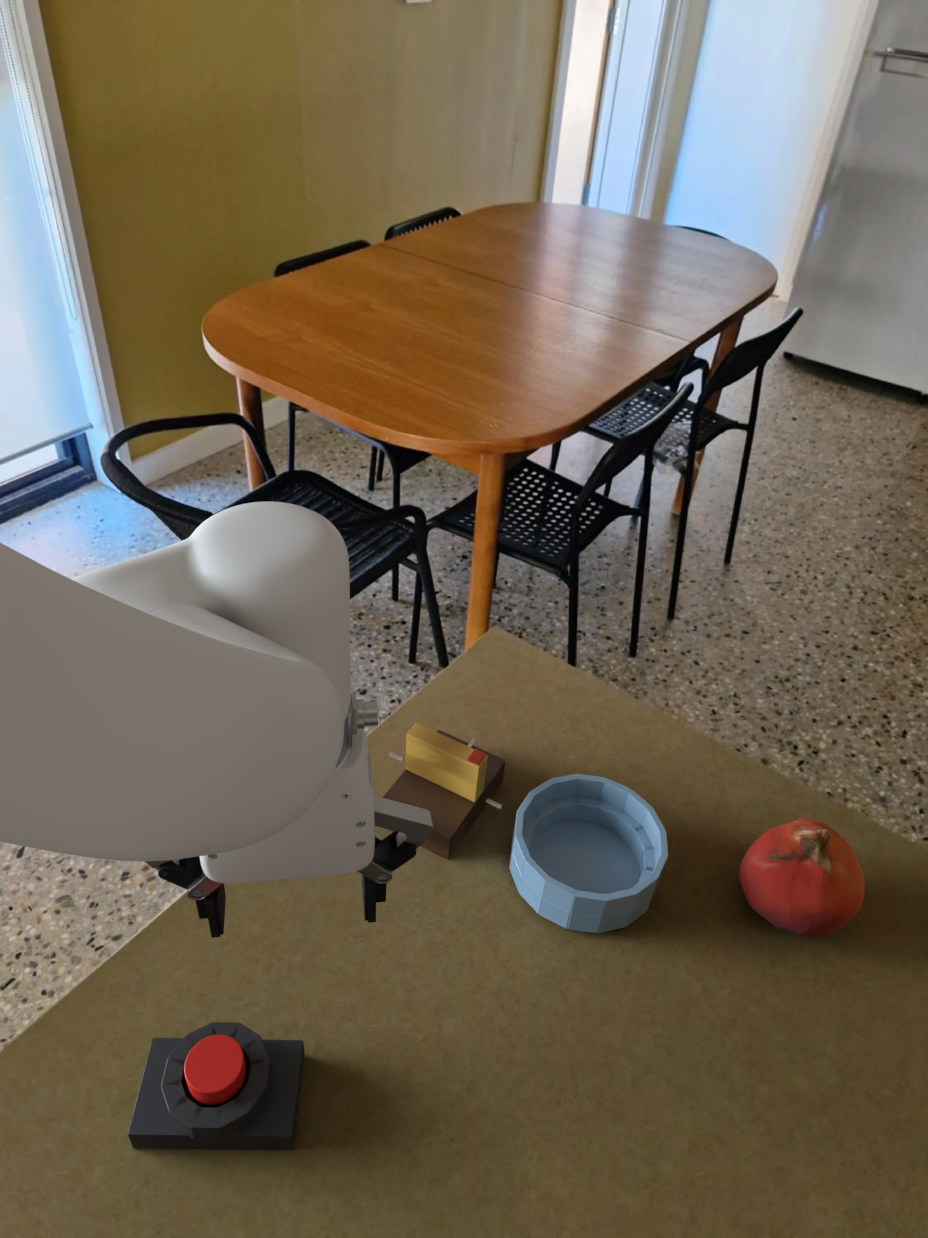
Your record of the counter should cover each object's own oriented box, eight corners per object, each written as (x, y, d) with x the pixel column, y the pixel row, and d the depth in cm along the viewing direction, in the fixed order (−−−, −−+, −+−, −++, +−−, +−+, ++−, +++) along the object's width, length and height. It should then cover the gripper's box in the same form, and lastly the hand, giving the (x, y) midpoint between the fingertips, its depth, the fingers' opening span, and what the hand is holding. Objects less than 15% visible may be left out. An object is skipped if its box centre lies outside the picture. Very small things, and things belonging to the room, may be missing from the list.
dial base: (466, 877, 73) (469, 853, 71) (353, 818, 77) (353, 795, 75) (526, 787, 81) (530, 764, 79) (421, 738, 85) (422, 715, 83)
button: (181, 1105, 55) (177, 1093, 54) (194, 1046, 57) (191, 1033, 56) (240, 1106, 55) (238, 1093, 54) (250, 1047, 58) (248, 1034, 57)
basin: (623, 963, 68) (636, 927, 65) (483, 890, 72) (488, 853, 69) (674, 850, 76) (687, 813, 73) (546, 791, 81) (554, 754, 77)
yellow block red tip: (404, 769, 78) (406, 731, 75) (414, 757, 79) (416, 720, 76) (475, 803, 75) (479, 765, 72) (483, 790, 76) (488, 753, 73)
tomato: (857, 890, 75) (892, 831, 70) (833, 977, 68) (870, 919, 63) (749, 840, 78) (775, 780, 73) (717, 919, 72) (743, 859, 66)
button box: (132, 1153, 56) (120, 1127, 53) (158, 1049, 61) (149, 1020, 58) (292, 1155, 56) (289, 1129, 54) (305, 1051, 61) (302, 1023, 59)
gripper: (432, 670, 52) (419, 851, 62) (119, 686, 49) (163, 873, 59) (450, 767, 46) (433, 949, 56) (97, 792, 43) (149, 978, 54)
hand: (294, 910), depth 58 cm, fingers open, 9 cm apart
